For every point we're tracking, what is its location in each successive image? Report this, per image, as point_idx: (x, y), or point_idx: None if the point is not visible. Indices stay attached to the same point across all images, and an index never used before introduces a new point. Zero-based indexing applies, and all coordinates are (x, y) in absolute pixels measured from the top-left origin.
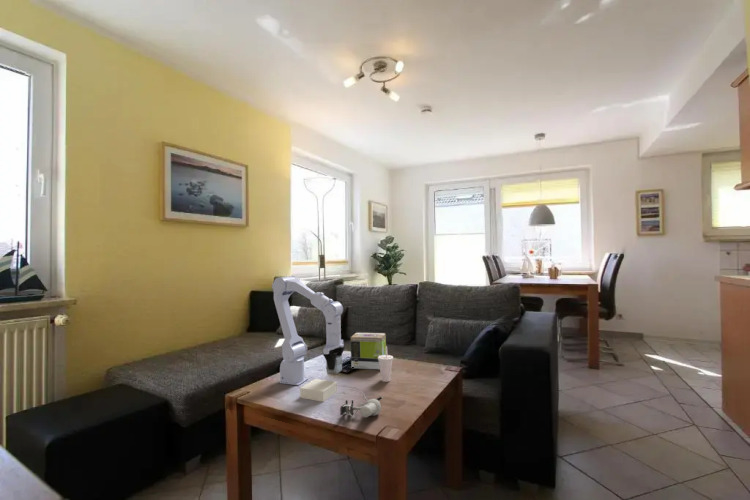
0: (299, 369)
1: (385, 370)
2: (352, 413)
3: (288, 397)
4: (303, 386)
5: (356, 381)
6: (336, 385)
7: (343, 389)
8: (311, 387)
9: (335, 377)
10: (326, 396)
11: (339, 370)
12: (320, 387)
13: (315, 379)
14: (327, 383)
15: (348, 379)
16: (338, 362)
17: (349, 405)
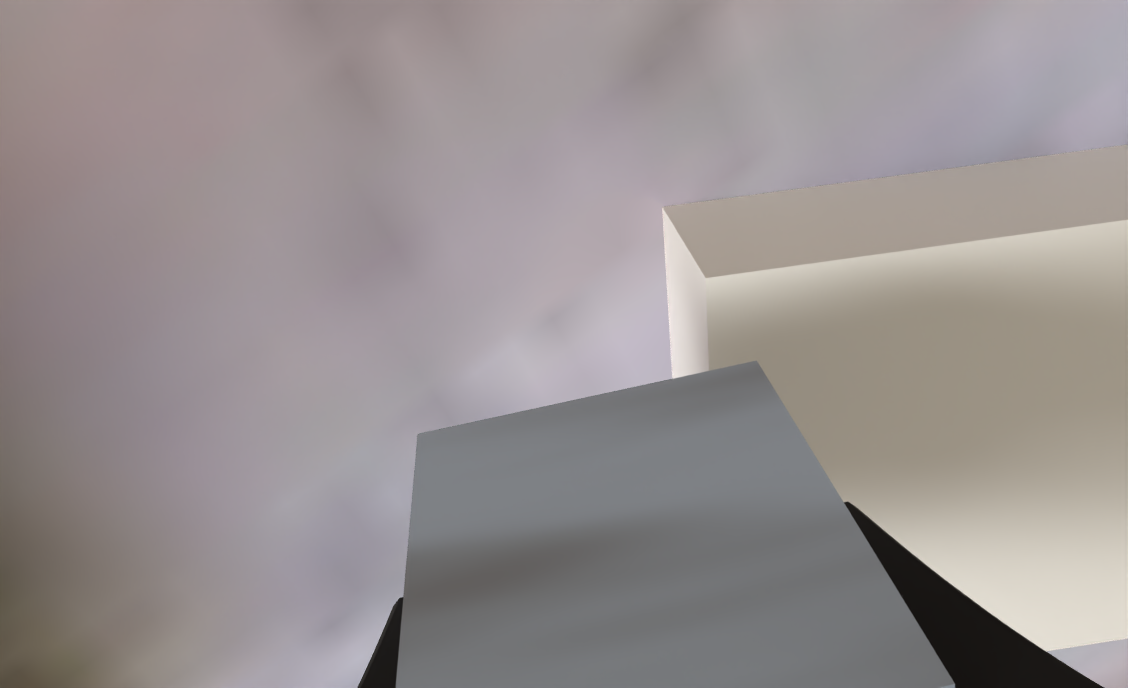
0: None
1: None
2: None
3: (1097, 643)
4: (1100, 631)
5: (22, 160)
6: (712, 247)
7: (532, 152)
8: (1115, 509)
9: (149, 601)
10: (1078, 169)
11: (606, 413)
12: (1084, 379)
13: None
14: (861, 390)
15: (57, 365)
16: (741, 580)
17: None
